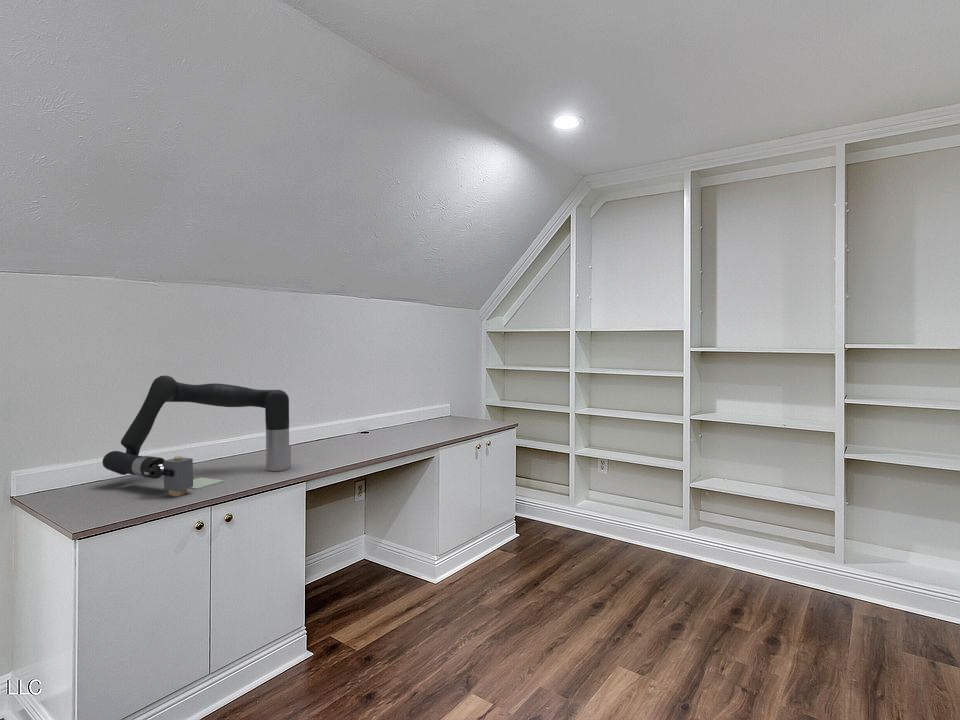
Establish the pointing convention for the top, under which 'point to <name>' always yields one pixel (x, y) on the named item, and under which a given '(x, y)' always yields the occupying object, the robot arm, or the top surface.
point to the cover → (179, 473)
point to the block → (177, 492)
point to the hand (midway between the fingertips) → (182, 471)
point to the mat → (204, 482)
